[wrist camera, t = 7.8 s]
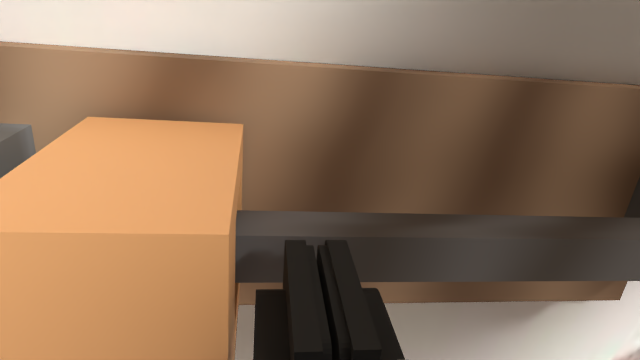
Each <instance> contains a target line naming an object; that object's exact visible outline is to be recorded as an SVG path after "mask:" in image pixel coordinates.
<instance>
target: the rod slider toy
mask: <svg viewBox="0 0 640 360" xmlns="http://www.w3.org/2000/svg"><path fill="white" fill-rule="evenodd" d="M87 117H104V118H126V119H147V120H168V121H190V122H211V123H232V124H243V171H242V210H237V214H236V246H235V283H240V289H239V303H238V305H255V299H256V289H283V269H284V246H285V240H306V245H313V246H314V251H315V257H316V258H317V247H318V245H325V241H326V240H346V241H347V243H348V246H349V249H350V253H351V256H352V259H353V262H354V265H355V268H356V271H357V274H358V277H359V280H360V284H361V287H362V288H377V289H378V290H379V292H380V295H381V297H382V300H383V303H426V302H506V301H587V300H620V298H621V296H622V293H623V291H624V288H625V286H626V284H627V281H640V85H627V84H612V83H598V82H583V81H568V80H554V79H539V78H525V77H510V76H496V75H481V74H466V73H452V72H437V71H423V70H408V69H394V68H379V67H364V66H350V65H335V64H321V63H306V62H292V61H277V60H262V59H248V58H233V57H219V56H204V55H190V54H175V53H160V52H146V51H131V50H117V49H102V48H88V47H73V46H58V45H44V44H29V43H15V42H0V178H2V177H3V176H5V175H6V174H7V173H9V172H10V171H12V170H13V169H14V168H16V167H17V166H19V165H20V164H22V163H23V162H24V161H26V160H27V159H29V158H30V157H31V156H33V155H34V154H36V153H37V152H39V151H40V150H41V149H43V148H44V147H46V146H47V145H48V144H50V143H51V142H53V141H54V140H56V139H57V138H58V137H60V136H61V135H63V134H64V133H65V132H67V131H68V130H70V129H71V128H73V127H74V126H75V125H77V124H78V123H80V122H81V121H82V120H84V119H85V118H87Z"/></svg>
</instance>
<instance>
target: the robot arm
mask: <svg viewBox="0 0 640 360" xmlns="http://www.w3.org/2000/svg"><path fill="white" fill-rule="evenodd" d="M253 360H405V358H404V356H403V353H402V350H401V348H400V345H399V342H398V340H397V337H396V334H395V332H394V329H393V326H392V324H391V321H390V318H389V316H388V313H387V311H386V308H385V305H384V303H383V300H382V297H381V295H380V292H379V290H378V289H377V288H362V287H361V284H360V280H359V277H358V274H357V271H356V268H355V265H354V262H353V259H352V256H351V253H350V249H349V246H348V243H347V241H346V240H326V241H325V245H318V247H317V258H316V257H315V251H314V246H313V245H306V240H285V246H284V269H283V289H256V299H255V328H254V357H253Z"/></svg>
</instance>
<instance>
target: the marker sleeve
mask: <svg viewBox="0 0 640 360" xmlns="http://www.w3.org/2000/svg"><path fill="white" fill-rule="evenodd" d="M242 171H243V124H232V123H211V122H190V121H168V120H147V119H126V118H104V117H87V118H85V119H84V120H82V121H81V122H80V123H78V124H77V125H75V126H74V127H73V128H71V129H70V130H68V131H67V132H65V133H64V134H63V135H61V136H60V137H58V138H57V139H56V140H54V141H53V142H51V143H50V144H48V145H47V146H46V147H44V148H43V149H41V150H40V151H39V152H37V153H36V154H34V155H33V156H31V157H30V158H29V159H27V160H26V161H24V162H23V163H22V164H20V165H19V166H17V167H16V168H14V169H13V170H12V171H10V172H9V173H7V174H6V175H5V176H3V177H2V178H0V360H234V359H235V345H236V331H237V317H238V303H239V289H240V283H235V246H236V214H237V210H242Z"/></svg>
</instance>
